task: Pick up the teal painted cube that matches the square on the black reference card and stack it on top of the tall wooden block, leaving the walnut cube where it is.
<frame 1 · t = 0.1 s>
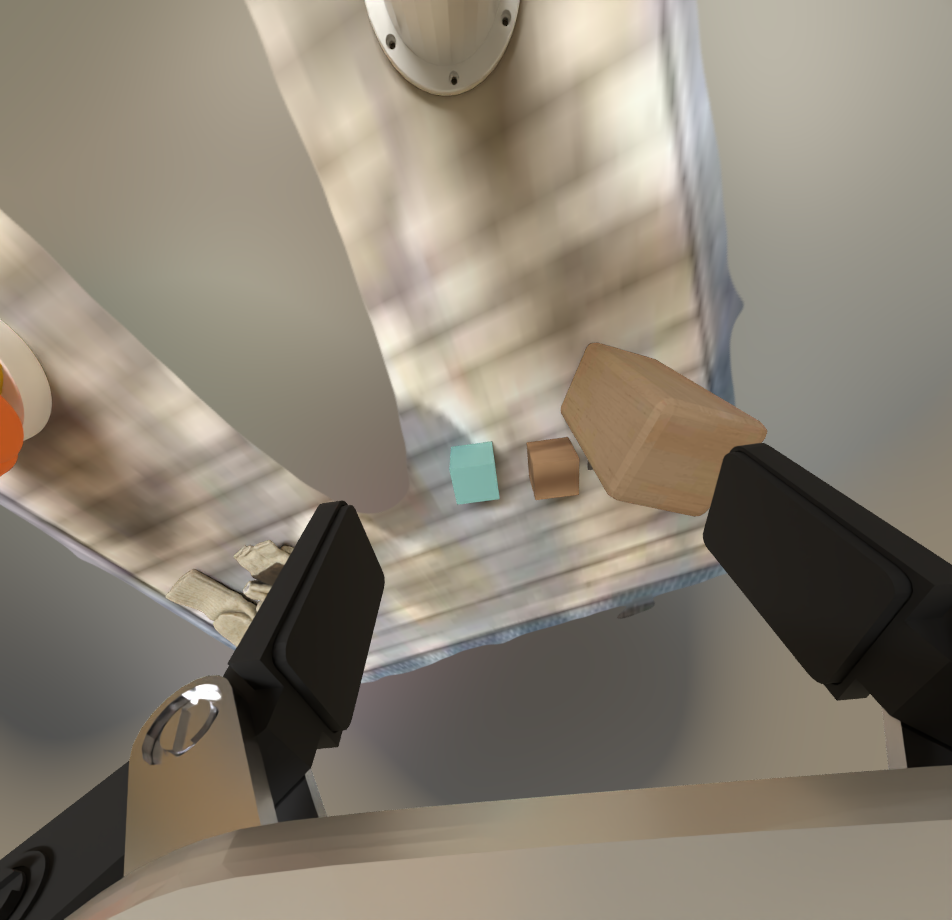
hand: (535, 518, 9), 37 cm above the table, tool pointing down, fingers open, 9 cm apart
pair of gloves: (275, 591, 67), on the table
wooden block: (605, 385, 46), on the table
teal cube: (474, 461, 51), on the table
walnut cube: (547, 456, 51), on the table
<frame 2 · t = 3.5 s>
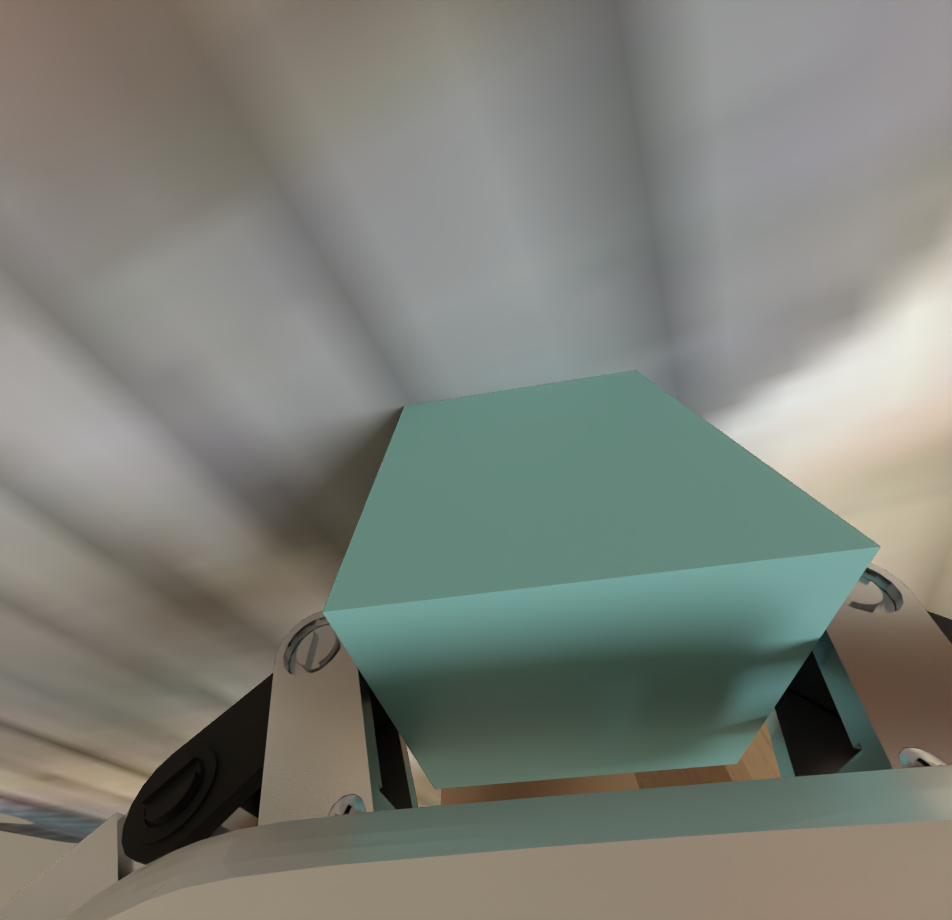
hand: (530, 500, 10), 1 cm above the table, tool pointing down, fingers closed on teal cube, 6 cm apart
wooden block: (704, 721, 20), on the table
teal cube: (526, 482, 10), on the table, touching gripper
walnut cube: (522, 670, 16), on the table
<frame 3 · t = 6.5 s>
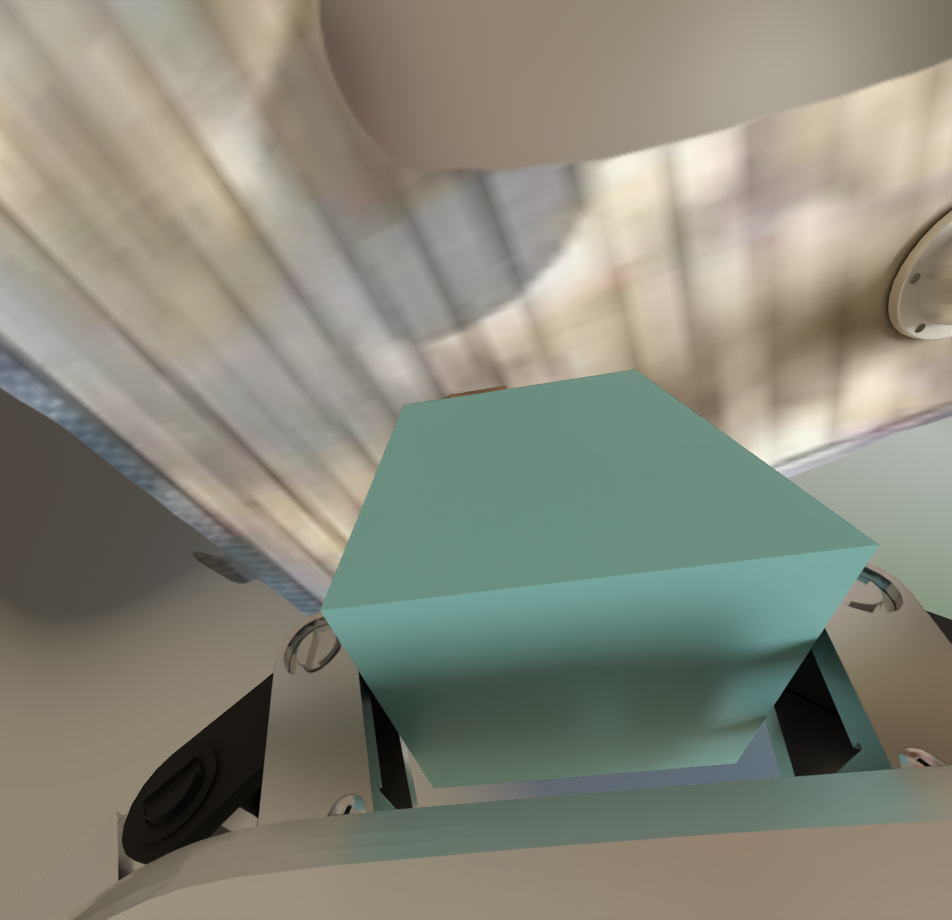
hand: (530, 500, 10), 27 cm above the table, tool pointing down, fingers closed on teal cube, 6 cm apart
teal cube: (525, 481, 10), point 26 cm above the table, touching gripper
when the fingers open (22 cm above the table, at t = 9.5 s): teal cube drops 1 cm, resting on wooden block.
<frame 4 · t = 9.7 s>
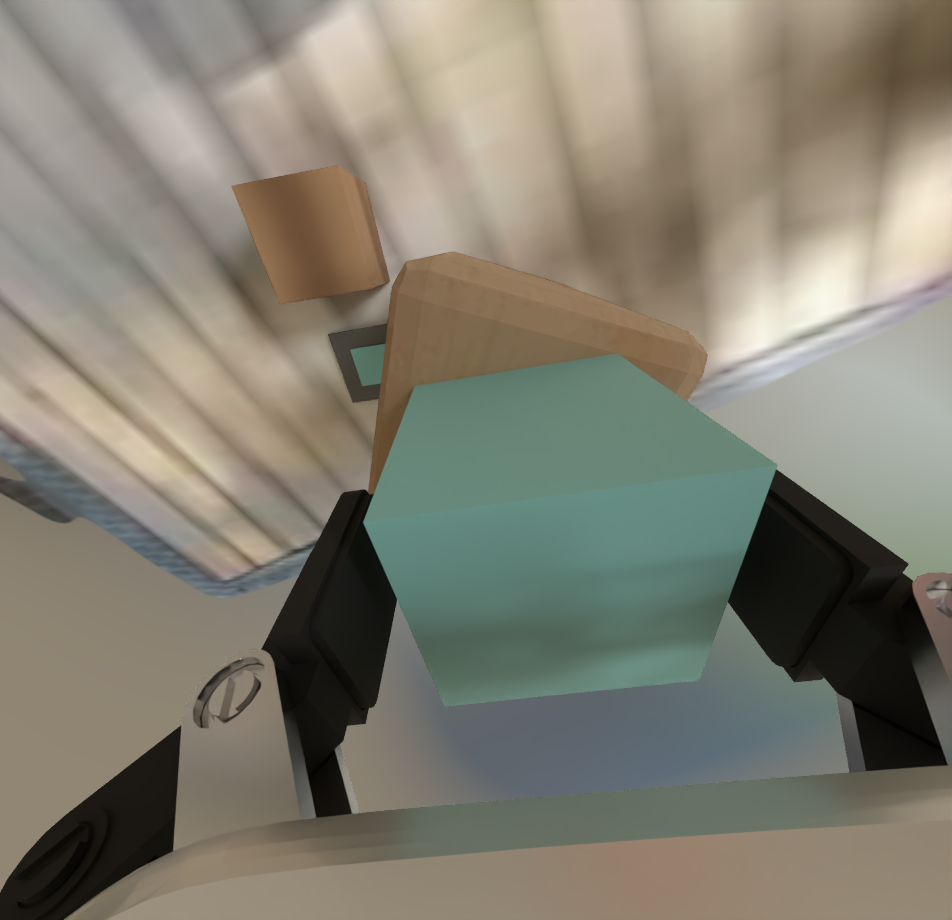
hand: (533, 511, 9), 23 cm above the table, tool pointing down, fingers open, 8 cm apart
reference card: (375, 363, 30), on the table
wooden block: (487, 332, 29), on the table, touching teal cube
teal cube: (522, 456, 12), point 20 cm above the table, touching wooden block
walnut cube: (339, 242, 25), on the table
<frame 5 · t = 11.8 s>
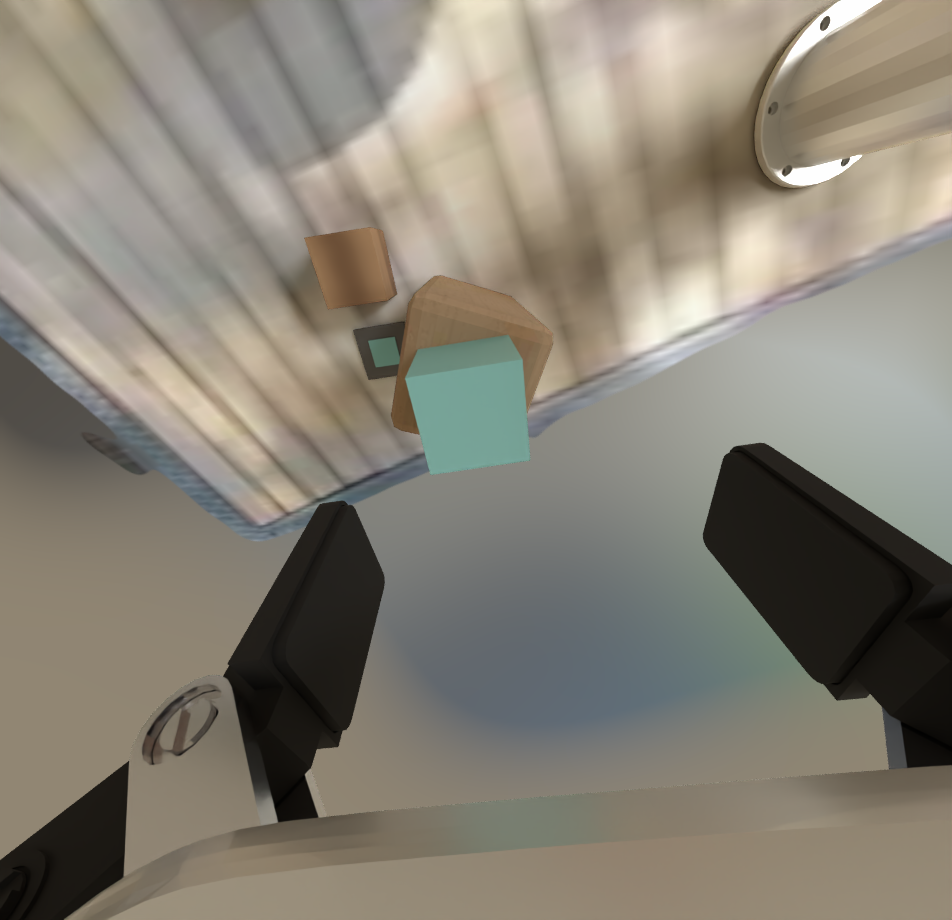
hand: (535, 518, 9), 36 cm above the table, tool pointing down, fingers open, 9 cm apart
reference card: (385, 351, 42), on the table
wooden block: (465, 330, 41), on the table, touching teal cube
teal cube: (470, 385, 24), point 20 cm above the table, touching wooden block
walnut cube: (363, 267, 37), on the table
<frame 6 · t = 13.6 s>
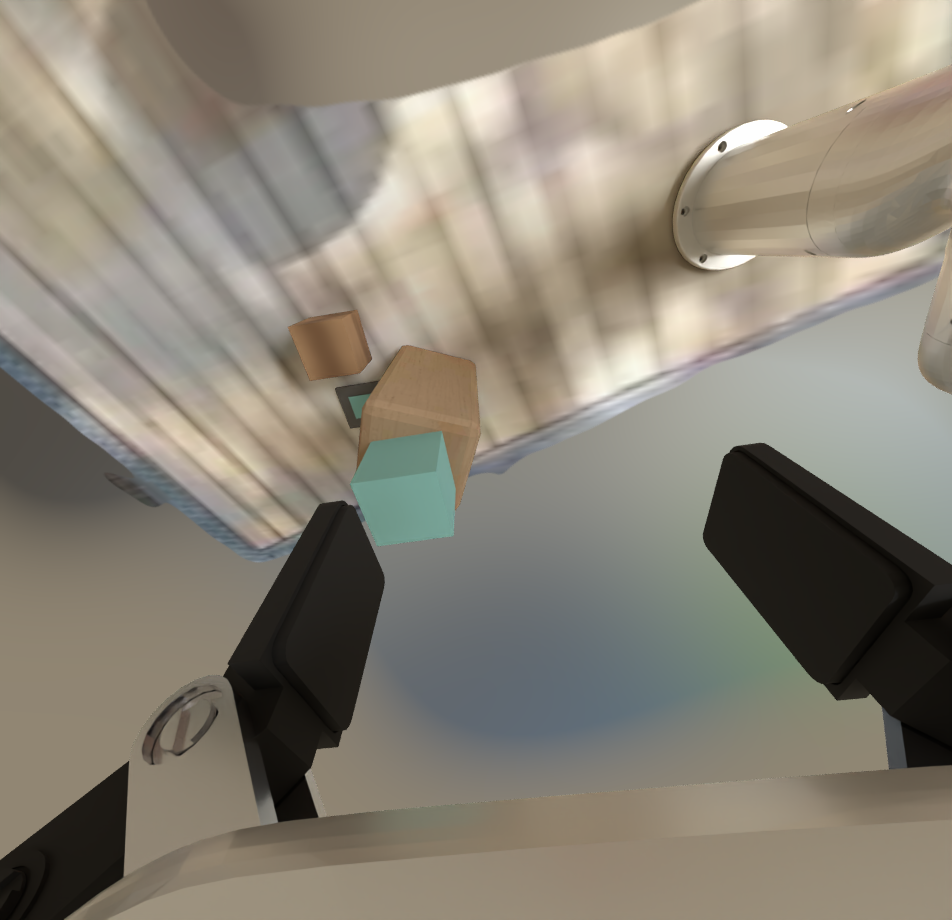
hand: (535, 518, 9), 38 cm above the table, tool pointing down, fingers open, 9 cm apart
reference card: (364, 404, 48), on the table
wooden block: (433, 386, 47), on the table, touching teal cube
teal cube: (415, 466, 30), point 20 cm above the table, touching wooden block
walnut cube: (341, 338, 43), on the table
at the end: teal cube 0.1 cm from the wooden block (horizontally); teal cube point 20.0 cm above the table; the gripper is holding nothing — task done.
